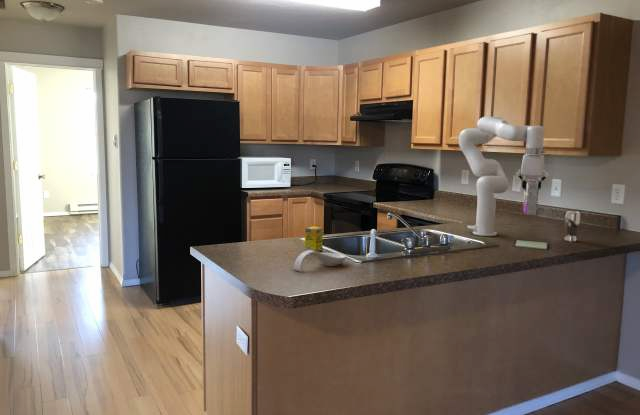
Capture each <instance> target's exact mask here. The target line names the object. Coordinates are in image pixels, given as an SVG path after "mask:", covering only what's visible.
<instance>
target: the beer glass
mask: <svg viewBox="0 0 640 415" xmlns="http://www.w3.org/2000/svg"><path fill="white" fill-rule="evenodd" d="M580 223H581V212H580V211H574V210H566V211H565V216H564V230H565V231H564V232H565V234H564V238H563V241H564V242H567V243H576V242H578V235H577V234H578V231H579V227H580Z"/></svg>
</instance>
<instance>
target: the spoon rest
mask: <svg viewBox="0 0 640 415" xmlns="http://www.w3.org/2000/svg"><path fill="white" fill-rule="evenodd" d="M310 255H313V256H314V257H315V258H316V259H317V260H318V261H319V262H320V263H321V264H322V265H323V266H326V267H336V266H339V265H340V264H342V263H343V262H344V261H345V260H346V258H347V256H346V255H345V254H341V253H335V252H315V251H312V250H307V251H305V250H304V251H303V252H301V253H300V254H299V255H298V256H297V258H296V259H295V261H294V264H293V270H294V271H297V272H301V273H302V272H303V264H304V261H305V259H306V258H307V257H308V256H310Z"/></svg>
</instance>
